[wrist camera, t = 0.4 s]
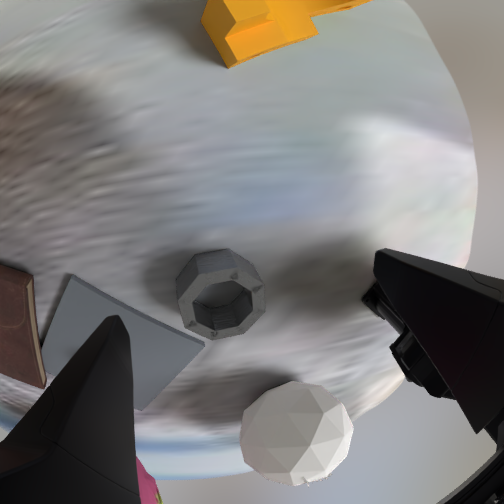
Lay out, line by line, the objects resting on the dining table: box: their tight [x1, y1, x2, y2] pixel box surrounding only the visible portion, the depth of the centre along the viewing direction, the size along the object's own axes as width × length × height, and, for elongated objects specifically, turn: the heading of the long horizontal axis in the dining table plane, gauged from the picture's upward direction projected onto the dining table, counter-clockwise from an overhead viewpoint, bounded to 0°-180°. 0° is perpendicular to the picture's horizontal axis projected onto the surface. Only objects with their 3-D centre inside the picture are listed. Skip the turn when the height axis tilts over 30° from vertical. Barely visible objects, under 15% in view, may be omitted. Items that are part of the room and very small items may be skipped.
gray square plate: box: [41, 275, 205, 411], centre depth 23 cm, size 14×14×4 cm
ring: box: [176, 249, 265, 340], centre depth 23 cm, size 7×7×3 cm
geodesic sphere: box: [239, 381, 354, 486], centre depth 29 cm, size 15×14×14 cm
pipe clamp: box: [201, 0, 372, 69], centre depth 13 cm, size 12×4×6 cm, turn 117°
